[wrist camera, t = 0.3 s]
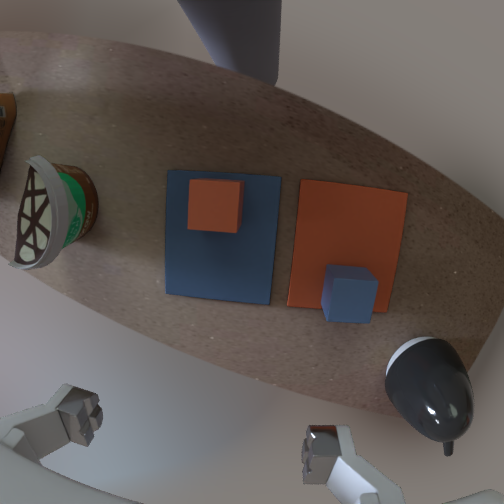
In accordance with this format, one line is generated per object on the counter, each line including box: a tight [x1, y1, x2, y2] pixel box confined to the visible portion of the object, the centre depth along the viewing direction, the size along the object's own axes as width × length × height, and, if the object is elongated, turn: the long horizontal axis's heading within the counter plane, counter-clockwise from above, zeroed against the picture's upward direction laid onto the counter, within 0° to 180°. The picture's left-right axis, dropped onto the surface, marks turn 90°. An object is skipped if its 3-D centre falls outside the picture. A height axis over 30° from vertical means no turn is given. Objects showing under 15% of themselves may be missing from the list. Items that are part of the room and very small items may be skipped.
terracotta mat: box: [287, 179, 408, 312], centre depth 34 cm, size 14×12×1 cm
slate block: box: [321, 264, 379, 323], centre depth 32 cm, size 5×5×5 cm
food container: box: [9, 155, 98, 270], centre depth 30 cm, size 12×6×10 cm, turn 157°
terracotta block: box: [188, 178, 245, 233], centre depth 31 cm, size 5×5×5 cm
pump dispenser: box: [385, 337, 474, 456], centre depth 30 cm, size 10×10×15 cm
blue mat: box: [165, 170, 281, 305], centre depth 34 cm, size 14×12×1 cm
